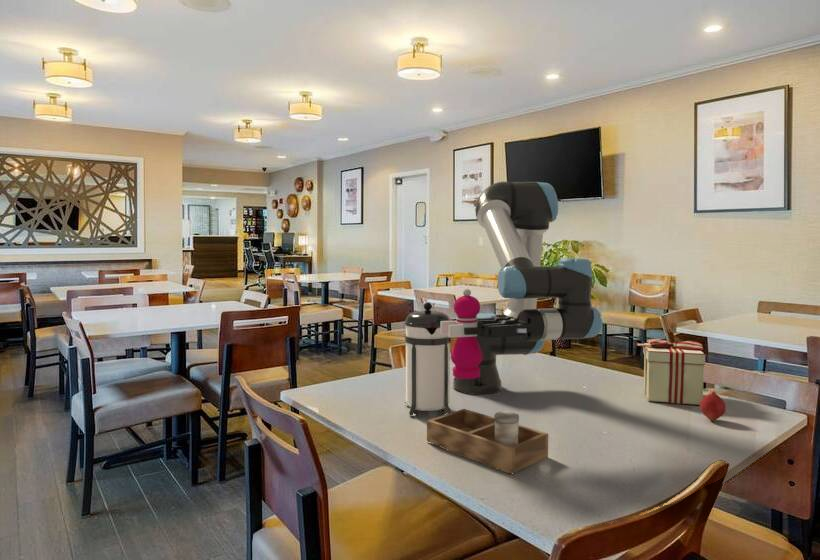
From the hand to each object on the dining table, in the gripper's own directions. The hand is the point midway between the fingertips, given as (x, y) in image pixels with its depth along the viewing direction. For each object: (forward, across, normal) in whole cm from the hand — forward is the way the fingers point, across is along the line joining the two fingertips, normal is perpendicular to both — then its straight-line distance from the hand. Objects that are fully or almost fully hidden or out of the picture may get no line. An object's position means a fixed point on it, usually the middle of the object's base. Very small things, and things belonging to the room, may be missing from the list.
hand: (445, 329), depth 123 cm
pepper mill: (-5, 0, -11) cm, 12 cm away
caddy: (-8, -5, -27) cm, 28 cm away
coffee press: (-4, +27, -27) cm, 38 cm away
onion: (-72, -3, -27) cm, 77 cm away
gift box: (-78, +20, -27) cm, 84 cm away
